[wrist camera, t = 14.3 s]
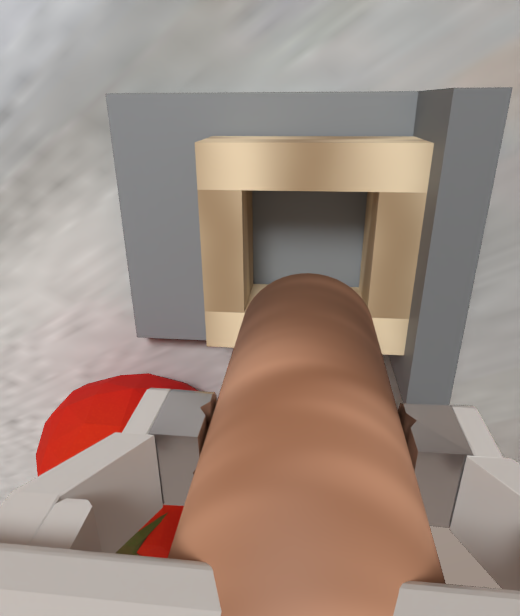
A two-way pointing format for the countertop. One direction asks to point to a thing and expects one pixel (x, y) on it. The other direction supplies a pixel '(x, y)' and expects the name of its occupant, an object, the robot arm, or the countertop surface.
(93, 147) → the countertop surface
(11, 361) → the countertop surface
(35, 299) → the countertop surface
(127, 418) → the tomato
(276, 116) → the slate track
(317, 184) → the square wooden frame
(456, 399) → the countertop surface
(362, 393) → the dowel
